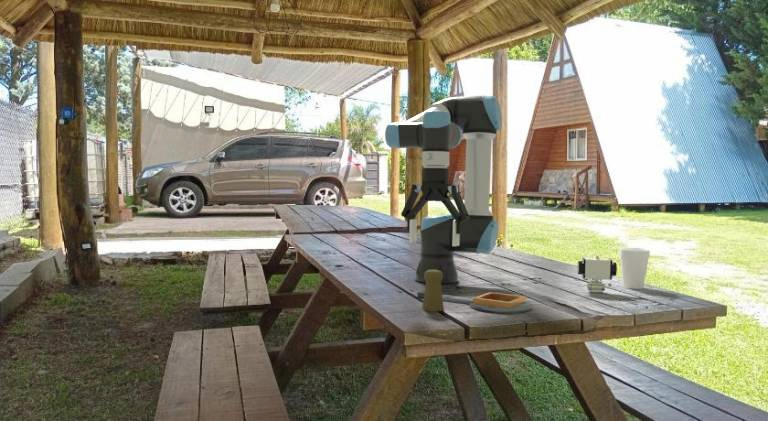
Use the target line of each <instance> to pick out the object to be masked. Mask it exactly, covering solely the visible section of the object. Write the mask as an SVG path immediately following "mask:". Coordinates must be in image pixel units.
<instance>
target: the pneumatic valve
mask: <svg viewBox="0 0 768 421" xmlns="http://www.w3.org/2000/svg"><path fill="white" fill-rule="evenodd" d="M576 267H577V269H576V270H577V275H581V277H582V279H587V280H588V279H589V280H590V281H588V282H587V289H586V290H587V291H589V292H590V293H593V294H594V293H595V294H603V293H604V292H605V291H606V284H605V283H603V282H602V280H608V281H609V280H611V281H612V280H613V277H616V276H617V272H618V267H617V262H615V261H614V262H613V260H612V258H606V257H605V258H604V257H603V258H601V257H600V258H599V255H595V257H581V259H580V260H578V261H577V266H576Z"/></svg>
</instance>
